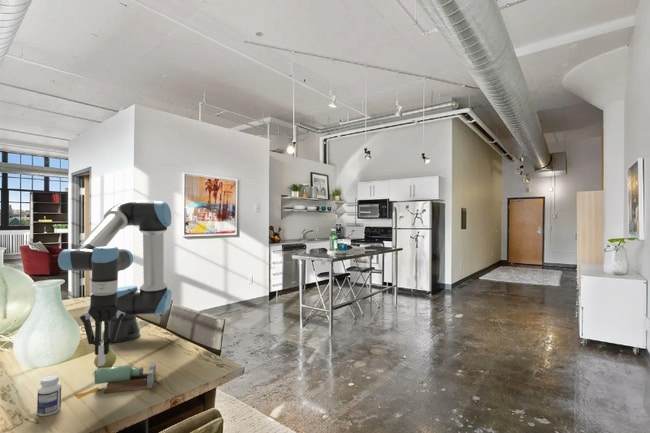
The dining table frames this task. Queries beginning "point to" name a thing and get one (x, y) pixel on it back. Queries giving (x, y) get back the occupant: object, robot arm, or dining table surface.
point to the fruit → (106, 359)
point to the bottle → (116, 374)
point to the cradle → (134, 382)
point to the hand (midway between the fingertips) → (101, 363)
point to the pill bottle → (49, 396)
